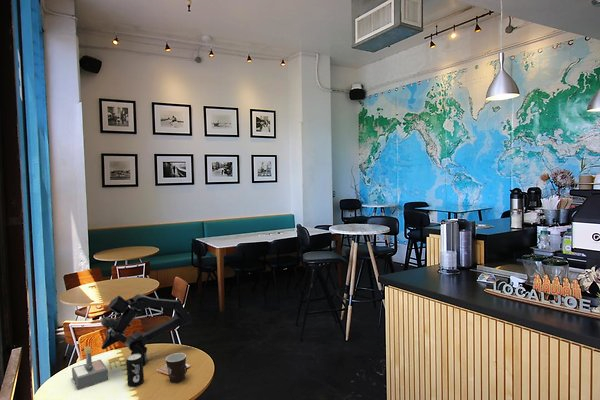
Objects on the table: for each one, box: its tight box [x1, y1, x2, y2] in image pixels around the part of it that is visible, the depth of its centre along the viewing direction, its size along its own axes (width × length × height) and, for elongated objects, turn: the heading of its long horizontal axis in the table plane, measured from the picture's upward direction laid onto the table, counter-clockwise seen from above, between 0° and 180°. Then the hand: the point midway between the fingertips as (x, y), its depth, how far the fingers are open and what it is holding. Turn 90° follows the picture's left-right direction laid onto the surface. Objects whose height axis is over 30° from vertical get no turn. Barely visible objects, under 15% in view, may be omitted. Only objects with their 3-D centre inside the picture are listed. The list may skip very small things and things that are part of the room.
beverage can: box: [125, 354, 145, 387], centre depth 177 cm, size 7×7×12 cm
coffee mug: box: [165, 352, 188, 384], centre depth 177 cm, size 12×9×10 cm
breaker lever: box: [83, 345, 93, 370], centre depth 182 cm, size 2×5×9 cm, turn 39°
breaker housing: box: [71, 359, 109, 391], centre depth 182 cm, size 12×13×5 cm
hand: (102, 348), depth 185 cm, fingers closed
